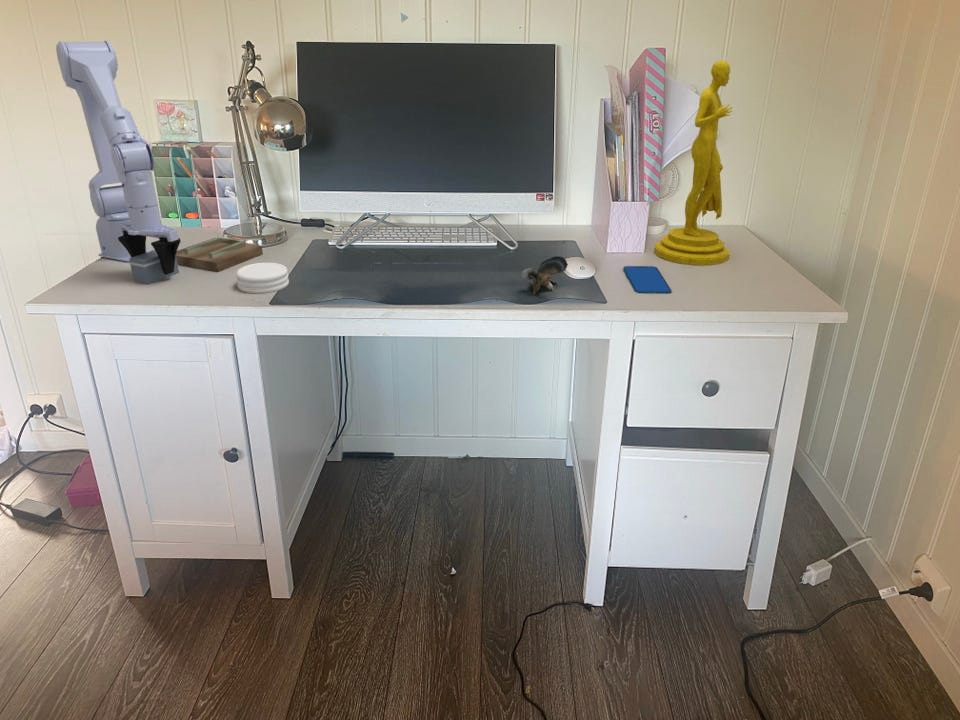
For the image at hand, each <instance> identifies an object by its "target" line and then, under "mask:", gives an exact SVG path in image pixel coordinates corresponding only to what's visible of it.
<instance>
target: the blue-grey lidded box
mask: <svg viewBox="0 0 960 720" xmlns="http://www.w3.org/2000/svg"><path fill="white" fill-rule="evenodd" d="M152 250H153V251H150V252H147V253H144V254H141V255H138V256H135V257H132V258H129V265H130V269H131V273H132V278H133V282H135V283H140V284H145V285H151V284H153V283H156V282H158V281H159V282H160V281H161V280H163V279H167V278H170V277H171V276H175V275H177V274H180V271H179V270H180V269H179V264H177V259H176V257H175V266H174V272H173V273H170V274H167V275H165V274H164V273H163V271H162V268H161V264H160V260H159V258H158V255H157V253H156V251H155V249H152Z"/></svg>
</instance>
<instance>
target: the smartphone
mask: <svg viewBox="0 0 960 720" xmlns="http://www.w3.org/2000/svg"><path fill="white" fill-rule="evenodd" d="M622 269H623V270H622V271H623V273H624V274H625V277H626V278H627V280H628V282H629V284H630V285H631V287H632V289H633V291H634V292H635V293H636V294H659V295H660V294H666V295H667V294H672V289H671V287H670V286H669V284H668V283H667V281H666V280H665V278H664V276H663V275H662V273H661V271H660V270H659V269H658V267H656V266H653V265H651V266H650V265H649V266H648V265H647V266H646V265H645V266H644V265H643V266H642V265H641V266H640V265H626V266H623V268H622Z"/></svg>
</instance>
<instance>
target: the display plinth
mask: <svg viewBox="0 0 960 720" xmlns="http://www.w3.org/2000/svg"><path fill="white" fill-rule="evenodd" d="M263 253H264V252H263V246H262V245H261V244H255V243H254V244H253V243H247V242H245V240H244V239H239V238H233V237H232V238H231V237H226V236H223V237H213V238H211V239H208V240H205V241H201V242H198V243H196V244H193V245H190V246H187V247H184V248H181V249H177V252H176V259H177V265H178V266H179V265H180V266H185V267H189V268H194V269H195V268H196V269H200V270H205V271H206V270H207V271H211V272H216V273H219V272H221V271H224V270H227V269H229V268H232V267H234V266H237V265H239V264H241V263H244V262H246V261H249V260H252V259H254V258H256V257H259V256H262V255H263Z"/></svg>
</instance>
